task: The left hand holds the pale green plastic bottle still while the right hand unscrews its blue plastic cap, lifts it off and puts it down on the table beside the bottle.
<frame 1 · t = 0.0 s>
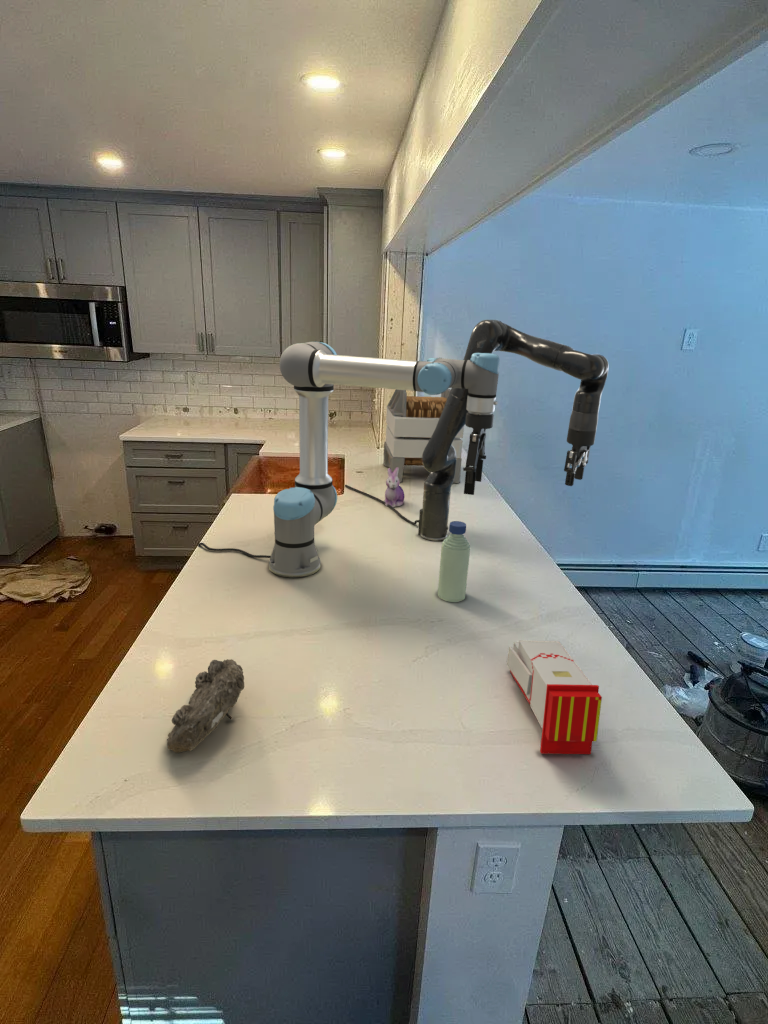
left hand: (472, 487, 161), 28 cm above the counter, tool pointing down, fingers open, 13 cm apart
right hand: (573, 482, 165), 29 cm above the counter, tool pointing down, fingers open, 8 cm apart
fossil: (212, 717, 108), on the counter
figurine: (393, 504, 230), on the counter
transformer: (419, 473, 275), on the counter
bottle: (451, 595, 158), on the counter
toy: (543, 705, 115), on the counter
cap: (457, 524, 151), point 21 cm above the counter, screwed on, not yet turned
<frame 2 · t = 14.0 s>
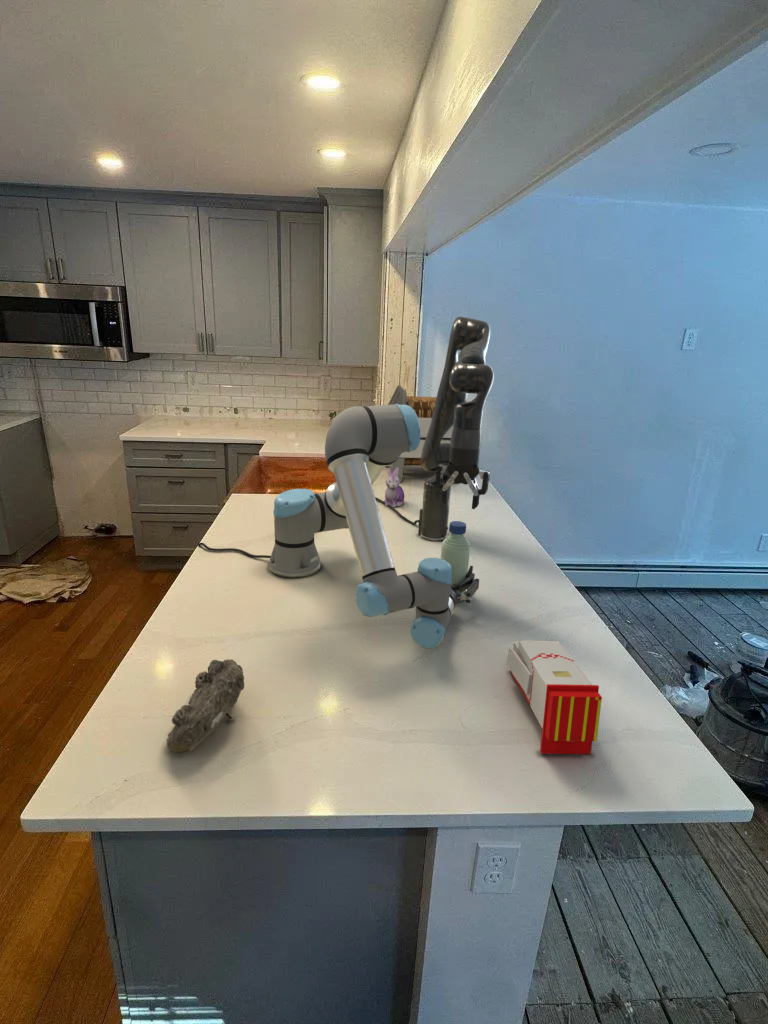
left hand: (456, 567, 161), 6 cm above the counter, tool horizontal, fingers closed on bottle, 8 cm apart
right hand: (459, 505, 149), 27 cm above the counter, tool pointing down, fingers open, 7 cm apart
bottle: (451, 595, 158), on the counter, touching left hand
everything else where it was.
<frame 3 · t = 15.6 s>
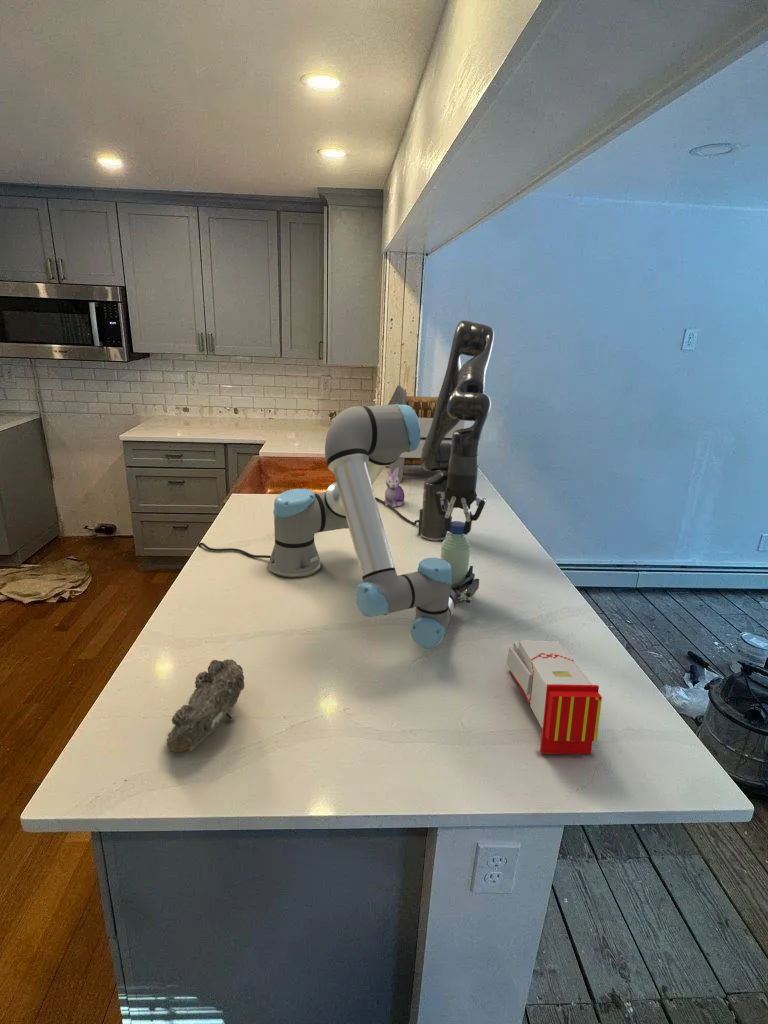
left hand: (456, 567, 161), 6 cm above the counter, tool horizontal, fingers closed on bottle, 8 cm apart
right hand: (457, 531, 152), 19 cm above the counter, tool pointing down, fingers closed on cap, 4 cm apart
bottle: (451, 595, 158), on the counter, touching left hand
cap: (457, 524, 151), point 21 cm above the counter, screwed on, not yet turned, touching right hand
everything else where it was.
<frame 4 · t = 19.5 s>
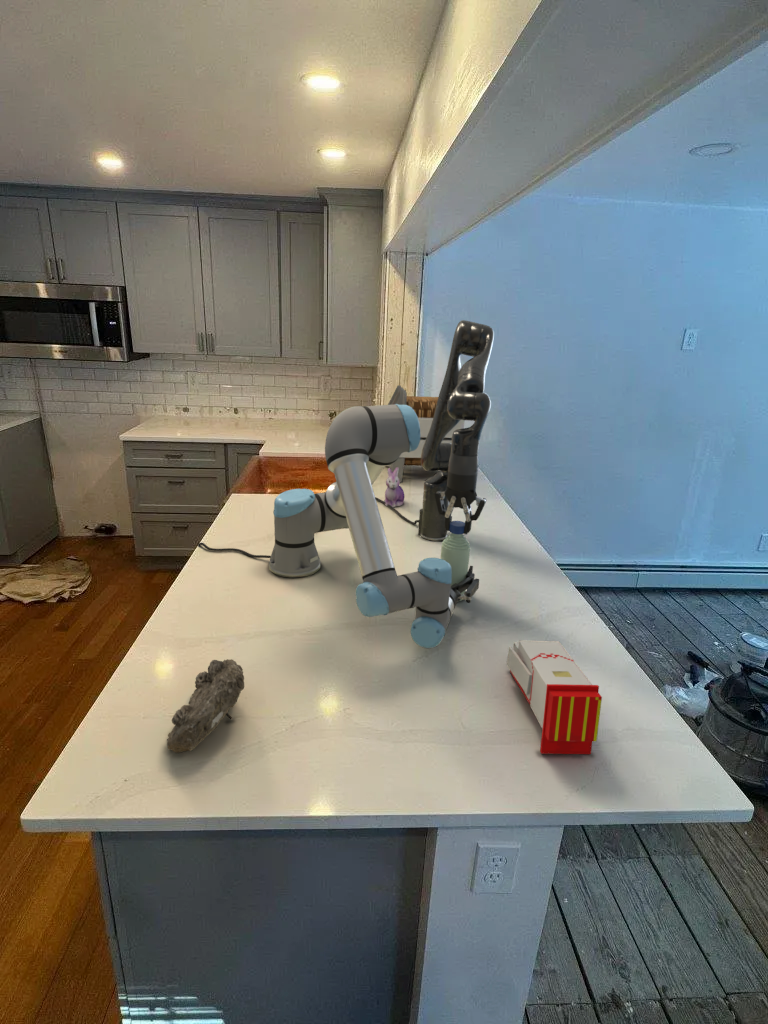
left hand: (456, 567, 161), 6 cm above the counter, tool horizontal, fingers closed on bottle, 8 cm apart
right hand: (457, 531, 152), 19 cm above the counter, tool pointing down, fingers closed on cap, 4 cm apart
bottle: (451, 595, 158), on the counter, touching left hand
cap: (457, 524, 151), point 21 cm above the counter, turned 100° so far, risen 0.1 cm, still on its thread, touching right hand
everything else where it was.
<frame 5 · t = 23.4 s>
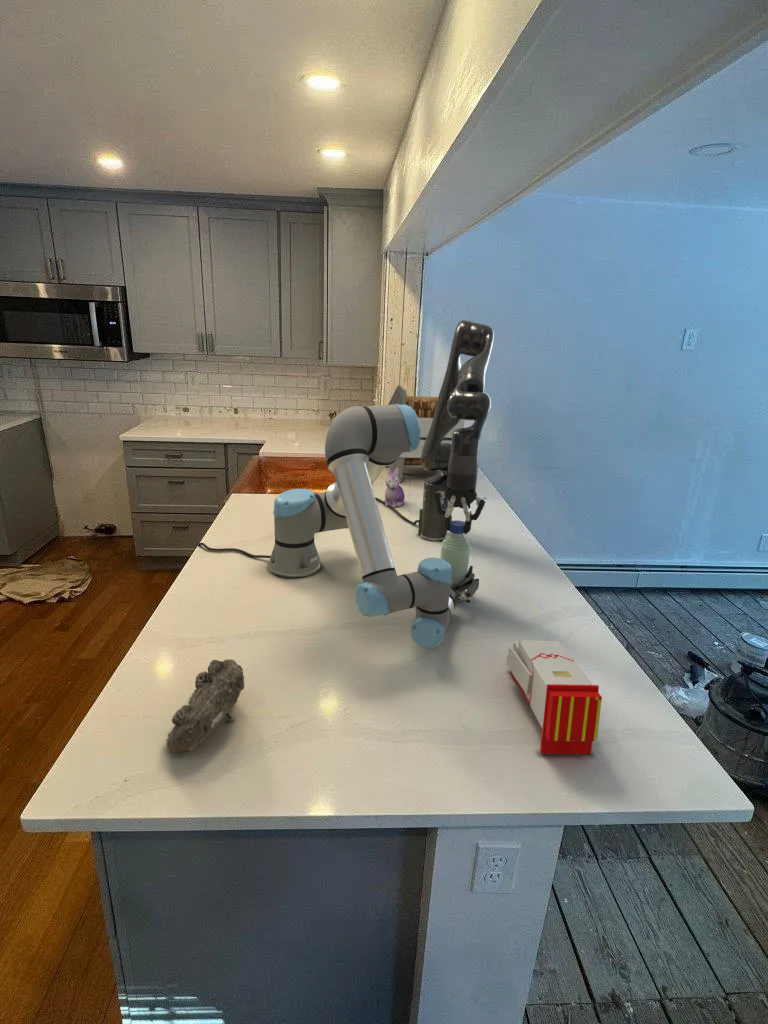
left hand: (456, 567, 161), 6 cm above the counter, tool horizontal, fingers closed on bottle, 8 cm apart
right hand: (457, 531, 152), 19 cm above the counter, tool pointing down, fingers closed on cap, 4 cm apart
bottle: (451, 595, 158), on the counter, touching left hand
cap: (457, 524, 151), point 21 cm above the counter, turned 199° so far, risen 0.2 cm, still on its thread, touching right hand
everything else where it was.
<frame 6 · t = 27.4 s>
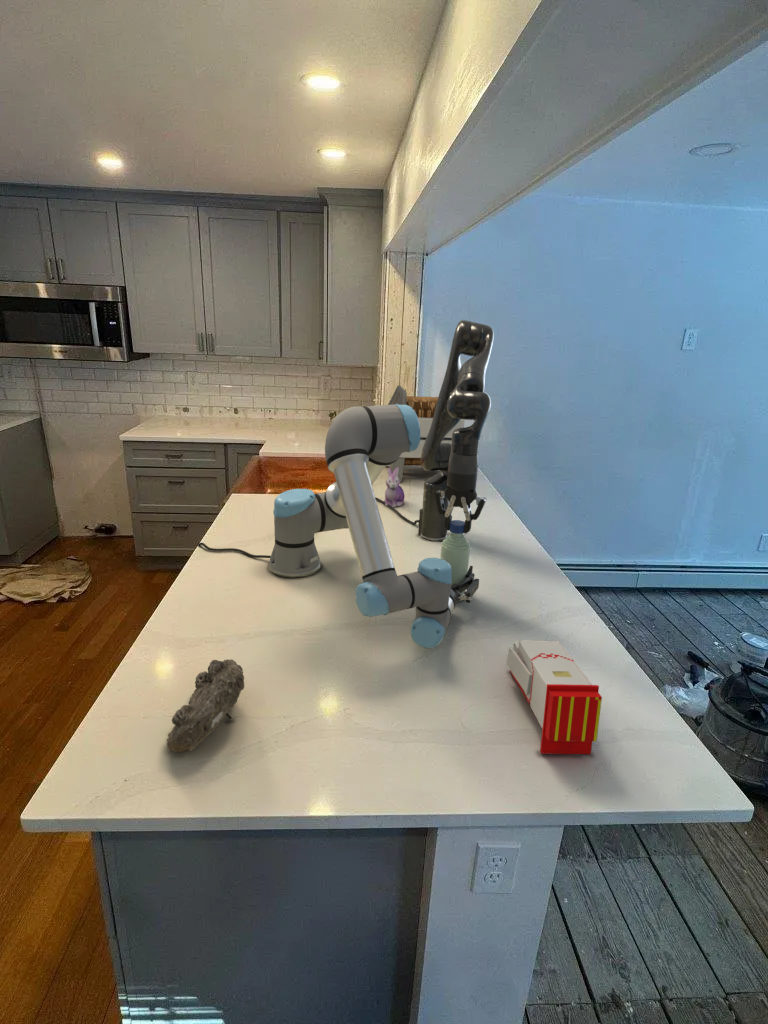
left hand: (456, 567, 161), 6 cm above the counter, tool horizontal, fingers closed on bottle, 8 cm apart
right hand: (457, 530, 152), 19 cm above the counter, tool pointing down, fingers closed on cap, 4 cm apart
bottle: (451, 595, 158), on the counter, touching left hand
cap: (457, 523, 151), point 21 cm above the counter, turned 299° so far, risen 0.3 cm, still on its thread, touching right hand
everything else where it was.
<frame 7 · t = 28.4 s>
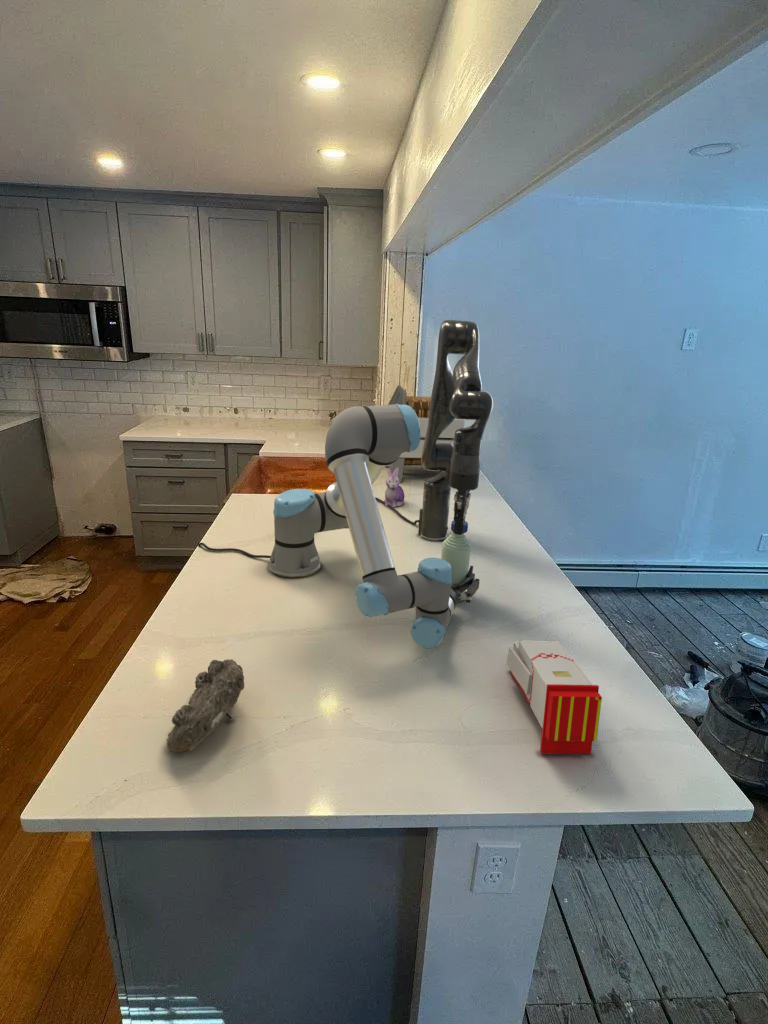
left hand: (456, 567, 161), 6 cm above the counter, tool horizontal, fingers closed on bottle, 8 cm apart
right hand: (459, 530, 152), 20 cm above the counter, tool pointing down, fingers closed on cap, 4 cm apart
bottle: (451, 595, 158), on the counter, touching left hand
cap: (459, 523, 151), point 21 cm above the counter, off its thread, touching right hand
everything else where it was.
when the right hand's fingers open (2 cm above the counter, at t = 33.9 s): cap drops 2 cm, point 2 cm above the counter.
when the left hand's fingers open (6 cm above the counter, at t = 35.0 s): bottle stays where it is, on the counter.
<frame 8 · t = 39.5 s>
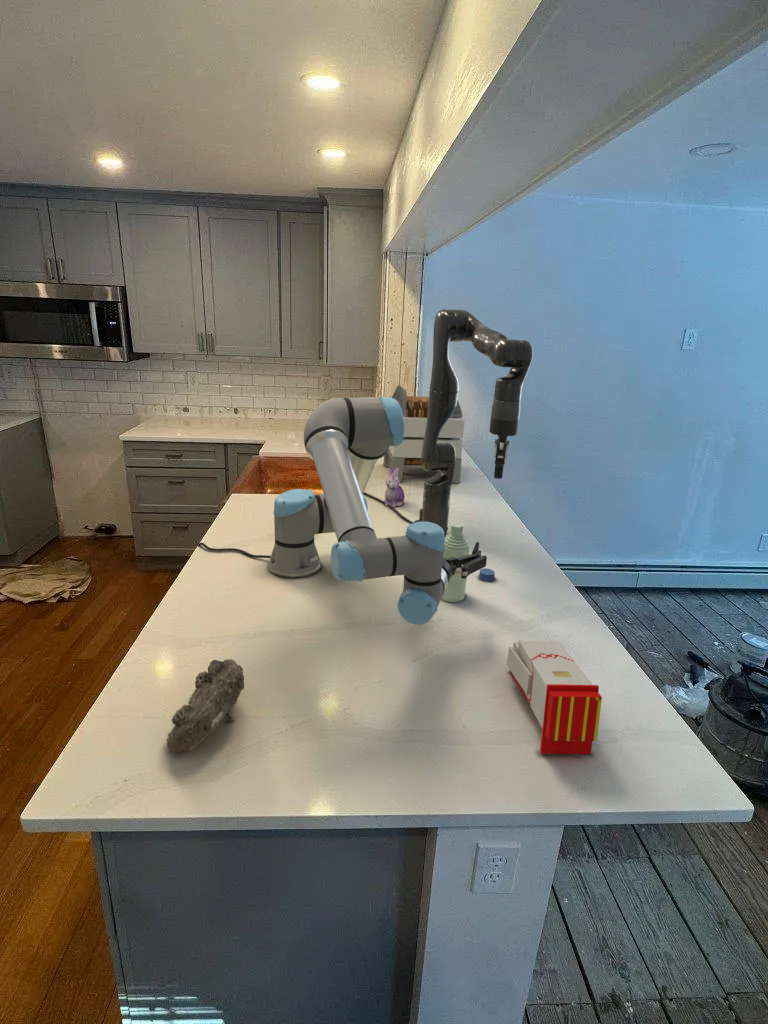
left hand: (450, 542, 143), 20 cm above the counter, tool horizontal, fingers open, 13 cm apart
right hand: (498, 474, 159), 32 cm above the counter, tool pointing down, fingers open, 8 cm apart
bottle: (450, 595, 159), on the counter
cap: (487, 572, 169), point 2 cm above the counter, off its thread
everything else where it was.
at the end: cap came off its thread; cap point 1.9 cm above the counter; the left hand is holding nothing; the right hand is holding nothing; bottle tilted 0°; bottle moved 0.2 cm from its start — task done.
